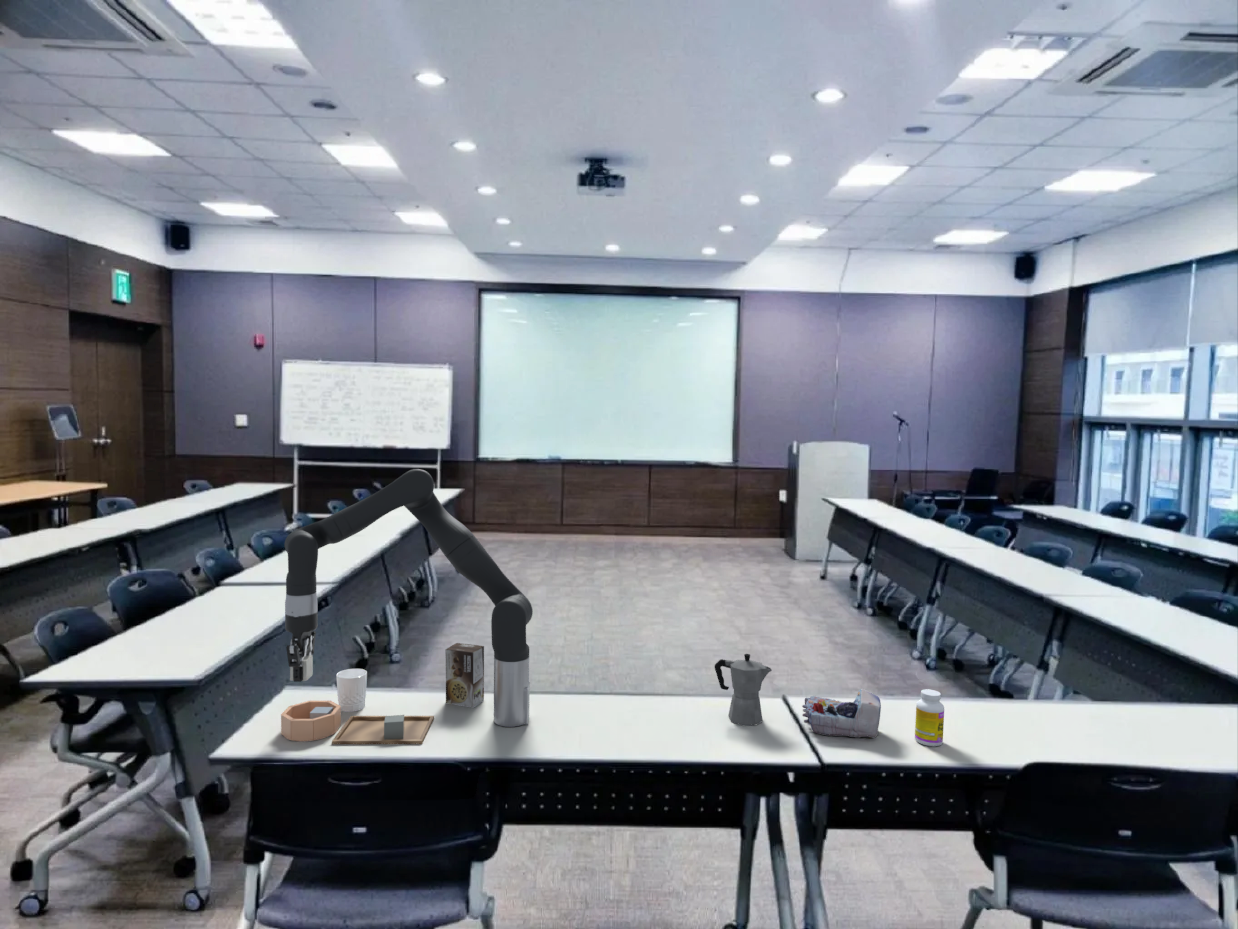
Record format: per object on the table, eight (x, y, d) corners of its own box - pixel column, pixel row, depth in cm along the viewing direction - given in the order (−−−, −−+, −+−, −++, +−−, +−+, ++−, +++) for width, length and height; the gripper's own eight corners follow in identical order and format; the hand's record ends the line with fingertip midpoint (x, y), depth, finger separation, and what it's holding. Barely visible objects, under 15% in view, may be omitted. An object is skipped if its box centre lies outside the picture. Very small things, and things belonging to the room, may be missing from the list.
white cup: (361, 715, 205) (360, 678, 205) (331, 714, 205) (331, 677, 205) (371, 704, 213) (371, 668, 212) (343, 703, 213) (342, 668, 213)
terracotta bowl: (345, 722, 200) (345, 700, 200) (329, 743, 187) (329, 720, 187) (294, 722, 200) (294, 700, 199) (275, 743, 187) (274, 720, 186)
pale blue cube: (333, 726, 196) (333, 707, 195) (327, 732, 192) (327, 713, 191) (315, 726, 196) (315, 706, 195) (309, 732, 192) (309, 713, 191)
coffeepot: (772, 716, 210) (774, 652, 208) (767, 729, 201) (769, 662, 199) (717, 708, 215) (718, 645, 213) (709, 720, 206) (711, 655, 205)
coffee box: (484, 701, 216) (485, 645, 215) (473, 710, 210) (473, 652, 209) (456, 697, 219) (456, 642, 218) (444, 705, 213) (444, 648, 212)
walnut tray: (434, 720, 202) (434, 715, 202) (422, 746, 187) (422, 740, 187) (351, 721, 201) (351, 715, 201) (331, 746, 186) (331, 741, 186)
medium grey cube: (404, 731, 194) (404, 714, 193) (403, 738, 190) (403, 721, 189) (385, 733, 193) (385, 716, 192) (384, 740, 188) (384, 722, 188)
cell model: (885, 702, 192) (803, 697, 196) (884, 744, 193) (802, 738, 197) (877, 684, 205) (801, 679, 209) (877, 723, 206) (800, 718, 210)
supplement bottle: (940, 749, 190) (942, 699, 190) (912, 743, 194) (914, 693, 193) (944, 740, 196) (947, 691, 195) (917, 734, 200) (919, 686, 199)
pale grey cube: (312, 674, 195) (312, 655, 195) (306, 680, 190) (306, 661, 190) (296, 674, 195) (296, 655, 194) (290, 680, 190) (290, 661, 190)
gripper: (296, 603, 198) (297, 668, 199) (274, 618, 184) (275, 687, 185) (326, 603, 199) (326, 668, 200) (306, 618, 184) (306, 688, 186)
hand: (301, 677), depth 193 cm, fingers closed on pale grey cube, 4 cm apart
